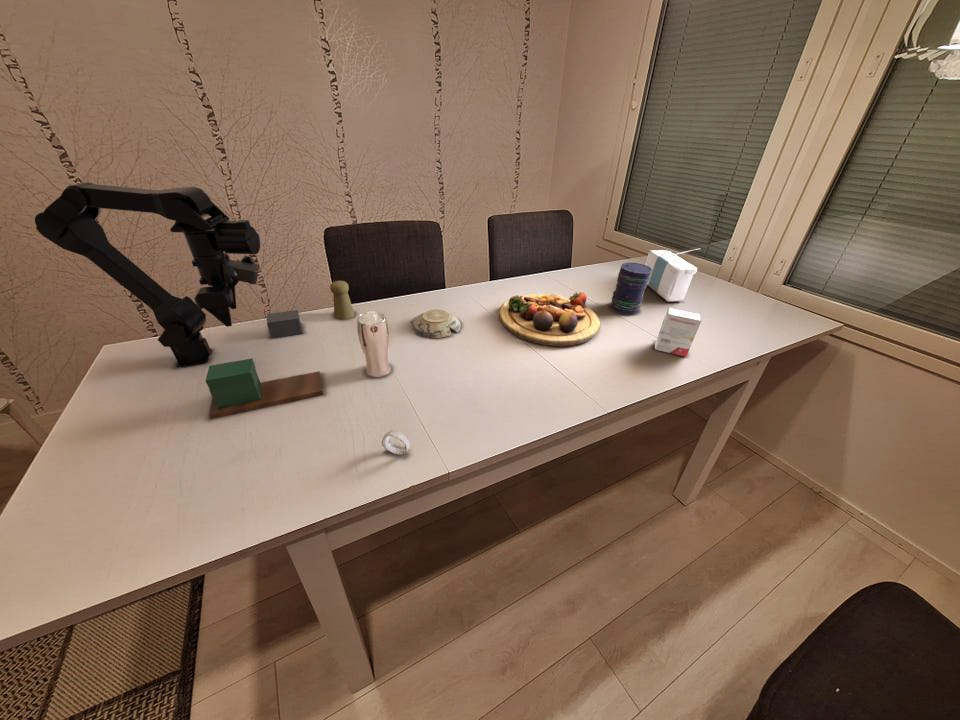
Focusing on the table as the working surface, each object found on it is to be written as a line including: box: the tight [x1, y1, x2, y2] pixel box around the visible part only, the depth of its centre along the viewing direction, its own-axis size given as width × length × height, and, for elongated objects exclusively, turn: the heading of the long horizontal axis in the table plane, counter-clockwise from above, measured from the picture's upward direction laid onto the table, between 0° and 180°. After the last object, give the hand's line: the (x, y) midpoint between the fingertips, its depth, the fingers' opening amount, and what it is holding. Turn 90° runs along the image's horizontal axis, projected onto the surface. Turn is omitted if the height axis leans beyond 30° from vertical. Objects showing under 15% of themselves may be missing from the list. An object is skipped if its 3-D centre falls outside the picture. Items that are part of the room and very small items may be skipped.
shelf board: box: [208, 370, 324, 419], centre depth 83 cm, size 22×8×1 cm, turn 114°
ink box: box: [654, 307, 702, 357], centre depth 105 cm, size 9×5×12 cm, turn 65°
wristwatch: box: [381, 430, 411, 456], centre depth 70 cm, size 3×5×5 cm, turn 73°
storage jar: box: [609, 262, 652, 316], centre depth 126 cm, size 10×10×15 cm
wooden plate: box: [498, 291, 601, 347], centre depth 117 cm, size 32×32×8 cm
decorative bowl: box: [412, 308, 461, 339], centre depth 112 cm, size 15×4×15 cm
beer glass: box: [356, 310, 392, 378], centre depth 89 cm, size 7×7×15 cm
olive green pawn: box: [329, 280, 355, 321], centre depth 113 cm, size 6×6×11 cm
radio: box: [644, 247, 702, 303], centre depth 138 cm, size 21×8×20 cm, turn 6°
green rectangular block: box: [205, 357, 257, 390], centre depth 78 cm, size 8×6×2 cm
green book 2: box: [214, 376, 262, 409], centre depth 80 cm, size 8×6×2 cm
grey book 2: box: [268, 319, 304, 339], centre depth 106 cm, size 8×6×2 cm
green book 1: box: [208, 368, 259, 400], centre depth 79 cm, size 8×6×2 cm
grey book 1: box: [266, 309, 301, 332], centre depth 104 cm, size 8×6×2 cm
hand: (231, 317), depth 88 cm, fingers open, 9 cm apart
